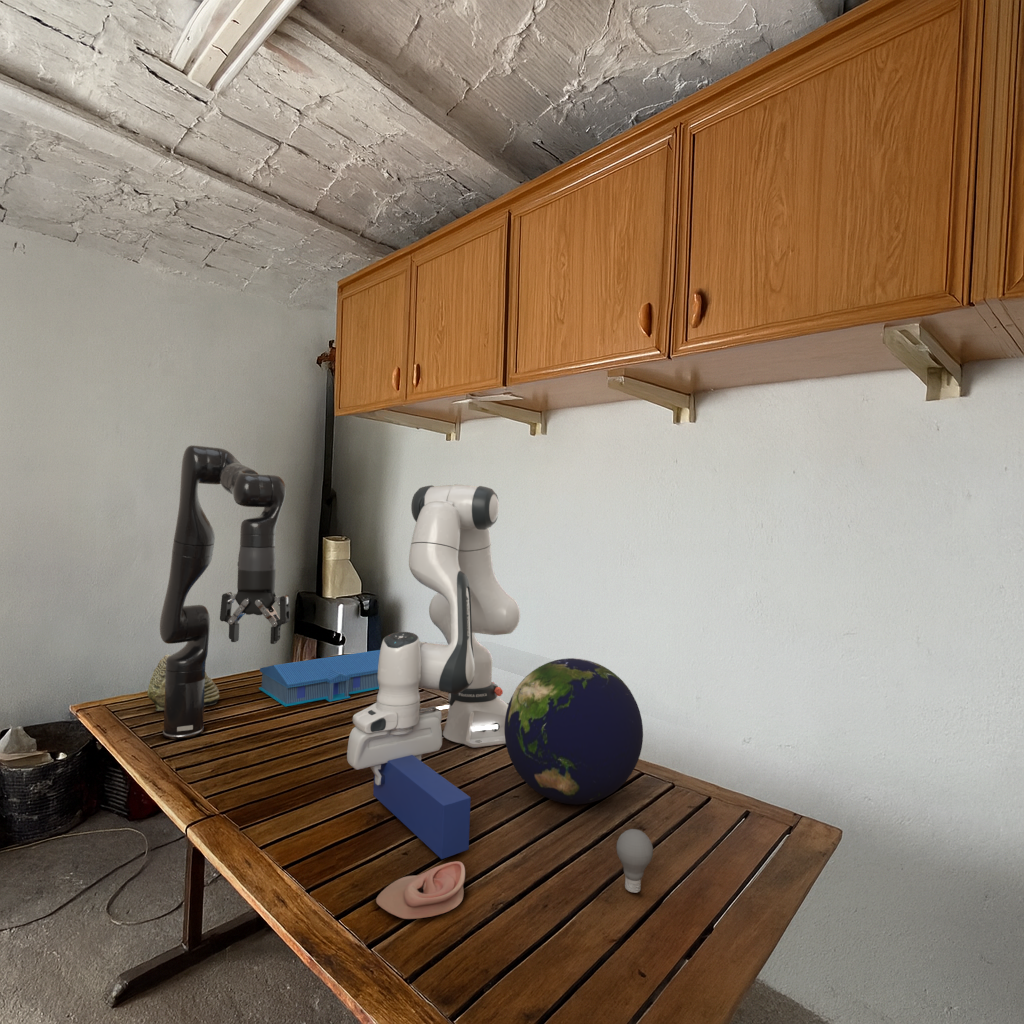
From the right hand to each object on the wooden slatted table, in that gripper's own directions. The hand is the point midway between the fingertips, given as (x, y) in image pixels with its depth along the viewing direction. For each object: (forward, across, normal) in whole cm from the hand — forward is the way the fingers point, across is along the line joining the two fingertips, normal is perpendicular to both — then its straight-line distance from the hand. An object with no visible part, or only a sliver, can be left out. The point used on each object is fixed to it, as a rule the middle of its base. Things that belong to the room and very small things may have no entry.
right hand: (395, 779), depth 131 cm
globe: (+6, -34, +16) cm, 38 cm away
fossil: (+6, +24, -87) cm, 90 cm away
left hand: (-26, +22, -25) cm, 42 cm away
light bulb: (+6, -20, +47) cm, 51 cm away
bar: (+4, 0, +10) cm, 11 cm away
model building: (+6, -19, -83) cm, 85 cm away
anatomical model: (+6, +10, +29) cm, 31 cm away
